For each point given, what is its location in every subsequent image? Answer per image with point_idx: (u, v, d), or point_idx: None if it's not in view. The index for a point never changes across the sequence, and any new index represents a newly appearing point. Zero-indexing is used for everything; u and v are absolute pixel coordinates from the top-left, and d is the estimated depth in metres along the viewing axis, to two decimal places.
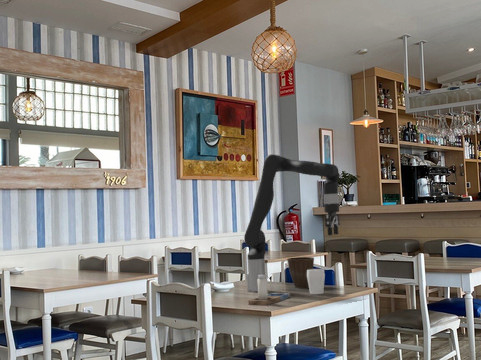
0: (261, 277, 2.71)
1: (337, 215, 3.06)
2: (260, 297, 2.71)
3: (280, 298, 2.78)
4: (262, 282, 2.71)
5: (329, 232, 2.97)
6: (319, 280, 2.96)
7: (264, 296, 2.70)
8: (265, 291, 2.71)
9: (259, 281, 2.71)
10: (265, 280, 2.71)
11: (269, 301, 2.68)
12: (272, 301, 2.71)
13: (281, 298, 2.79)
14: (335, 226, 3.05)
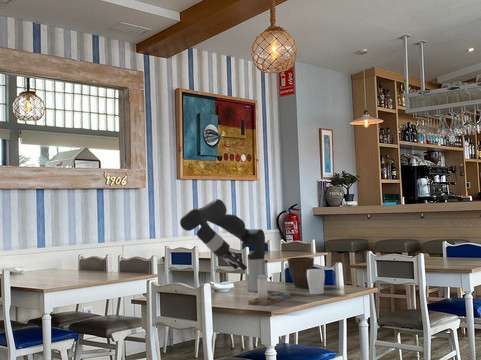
0: (261, 277, 2.71)
1: None
2: (260, 297, 2.71)
3: (280, 298, 2.78)
4: (262, 282, 2.71)
5: None
6: (319, 280, 2.96)
7: (264, 296, 2.70)
8: (265, 291, 2.71)
9: (259, 281, 2.71)
10: (265, 280, 2.71)
11: (269, 301, 2.68)
12: (272, 301, 2.71)
13: (281, 298, 2.79)
14: (231, 262, 2.71)
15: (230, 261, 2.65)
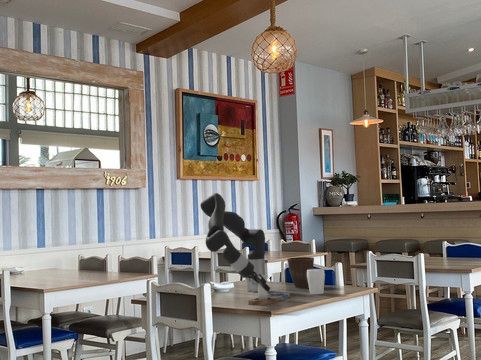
0: None
1: None
2: (260, 297, 2.71)
3: (280, 298, 2.78)
4: (262, 282, 2.71)
5: None
6: (319, 280, 2.96)
7: (264, 296, 2.70)
8: (265, 291, 2.71)
9: None
10: None
11: (269, 301, 2.68)
12: (272, 301, 2.71)
13: (281, 298, 2.79)
14: None
15: (254, 281, 2.70)
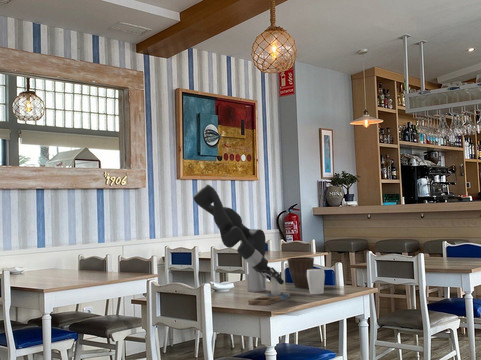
0: None
1: None
2: (273, 293, 2.83)
3: (280, 298, 2.78)
4: None
5: None
6: (319, 280, 2.96)
7: (277, 291, 2.83)
8: (278, 287, 2.83)
9: (272, 278, 2.84)
10: None
11: (269, 301, 2.68)
12: (272, 301, 2.71)
13: (281, 298, 2.79)
14: (268, 276, 2.88)
15: (268, 275, 2.81)
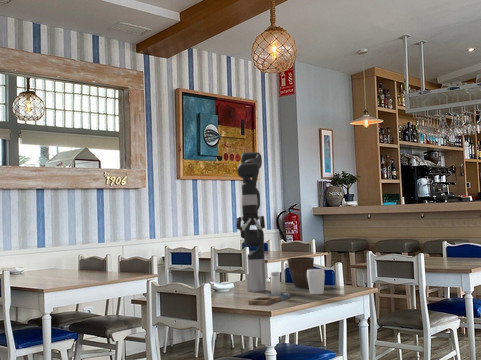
0: (274, 274, 2.84)
1: None
2: (273, 293, 2.83)
3: (280, 298, 2.78)
4: (275, 278, 2.83)
5: None
6: (319, 280, 2.96)
7: (277, 291, 2.83)
8: (278, 287, 2.83)
9: (272, 277, 2.84)
10: (278, 276, 2.84)
11: (269, 301, 2.68)
12: (272, 301, 2.71)
13: (281, 298, 2.79)
14: None
15: (256, 223, 2.85)
